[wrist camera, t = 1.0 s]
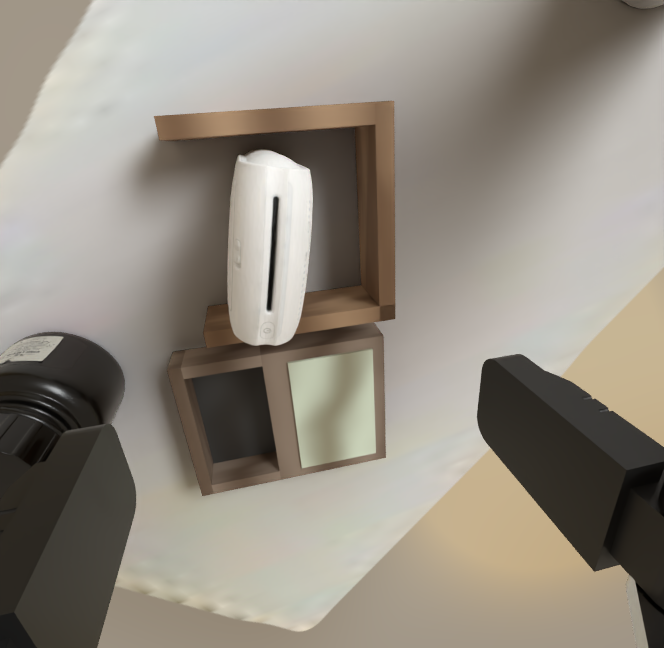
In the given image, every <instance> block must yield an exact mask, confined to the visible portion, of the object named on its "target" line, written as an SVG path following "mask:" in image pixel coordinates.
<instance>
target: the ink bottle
mask: <svg viewBox="0 0 664 648" xmlns="http://www.w3.org/2000/svg"><path fill="white" fill-rule="evenodd" d="M124 390H125V380H124V375H123V372H122V370H121V368H120V366H119V364H118V363H117V361H116V360H115V359H114V358H113V357H112V356H111V355H110V354H109V353H108V352H107V351H106V350H105V349H103V348H102V347H100V346H99V345H97V344H95V343H94V342H92V341H90V340H87V339H85V338H82V337H80V336H76V335H73V334H68V333H62V332H44V333H38V334H34V335H31V336H28V337H26V338H24V339H22V340H20V341H18V342H16V343H15V344H14V345H12V346H11V347H10V348H8V349H7V350H6V351H5V352H4V353H3V354H1V355H0V500H1V498H2V497H3V495H4V494H5V492H6V491H7V489H8V488H9V486H11V485H12V484H13V483H14V482H15V481H16V480H17V479H19V478H20V477H21V476H22V475H23V474H24V473H25V472H26V471H28V470H29V469H30V468H31V467H32V466H33V465H34V464H35V463H40V462H45V461H46V460H47V458H48V457H49V455H50V453H51V452H52V450H53V449H54V447H55V445H56V444H57V442H58V440H59V439H60V437H61V436H62V434H63V433H64V432H66V431H68V430H74V429H80V428H86V427H92V426H97V425H103V424H111V423H112V421H113V419H114V417H115V414H116V412H117V410H118V408H119V406H120V404H121V401H122V399H123V395H124Z"/></svg>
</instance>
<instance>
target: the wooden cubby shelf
mask: <svg viewBox="0 0 664 648" xmlns="http://www.w3.org/2000/svg"><path fill="white" fill-rule="evenodd" d="M154 118H155V123H156V127H157V132H158V136H159V140H164V141H178V140H192V139H205V138H219V137H232V136H246V135H259V134H273V133H286V132H300V131H313V130H326V129H340V128H353V127H355V150H356V174H357V197H358V221H359V245H360V268H361V285H359V286H351V287H344V288H337V289H330V290H322V291H315V292H308V293H305V296H304V302H303V307H302V313H301V318H300V321H299V324H298V327H297V329H296V331H295V334H301V333H307V332H314V331H320V330H327V329H333V328H340V327H346V326H353V325H359V324H365V323H372V322H378V321H385V320H391V319H395V174H394V101H382V102H367V103H351V104H336V105H320V106H305V107H289V108H274V109H258V110H243V111H227V112H212V113H196V114H181V115H165V116H154ZM203 334H204V338H205V343H206V347H207V348H210V347H216V346H223V345H229V344H236V343H242V342H243V341H241V340H240V339H239V338H238V337H236V336H235V334H234V332H233V330H232V326H231V322H230V316H229V307H228V304H221V305H214V306H208V310H207V315H206V320H205V326H204V331H203Z"/></svg>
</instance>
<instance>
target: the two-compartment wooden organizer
mask: <svg viewBox="0 0 664 648" xmlns="http://www.w3.org/2000/svg"><path fill="white" fill-rule="evenodd" d="M167 372H168V376H169V379H170V383H171V386H172V390H173V393H174V397H175V401H176V404H177V408H178V411H179V415H180V418H181V422H182V425H183V429H184V433H185V436H186V440H187V443H188V447H189V450H190V454H191V457H192V461H193V465H194V468H195V472H196V475H197V479H198V482H199V486H200V489H201V493H202V496H205V495H210V494H215V493H219V492H224V491H229V490H234V489H238V488H243V487H248V486H253V485H257V484H262V483H267V482H272V481H277V480H281V479H286V478H291V477H296V476H300V475H305V474H310V473H315V472H319V471H324V470H329V469H334V468H338V467H343V466H348V465H353V464H358V463H362V462H367V461H372V460H377V459H381V458H386V446H385V393H384V340H383V334H382V333H381V332H380V330H379V329H378V328H377V326H376V325H375V324H374V322H372V323H365V324H359V325H353V326H346V327H340V328H333V329H327V330H320V331H314V332H307V333H301V334H294V336H293V337H292V339H290V340H289V341H288V342H286V343H283V344H281V345H277V346H274V345H268V344H264V345H257V346H254V345H250V344H248V343H245V342H242V343H236V344H229V345H223V346H216V347H210V348H207V347H201V348H195V349H188V350H182V351H175V352H173V353H172V356H171V359H170V362H169V365H168V369H167Z"/></svg>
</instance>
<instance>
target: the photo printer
mask: <svg viewBox="0 0 664 648" xmlns="http://www.w3.org/2000/svg"><path fill="white" fill-rule="evenodd" d="M230 202H231V203H230V216H229V237H228V274H227V287H228V298H227V299H228V307H229V316H230V322H231V326H232V330H233V332H234V334H235V336H236V337H238V338H239V339H240V340H241V341H243V342H245V343H248V344H250V345H254V346H257V345H264V344H268V345H274V346H277V345H281V344H283V343H286V342H288V341H289V340H290V339H292V337H293V336H294V334H295V331H296V329H297V327H298V324H299V321H300V318H301V313H302V307H303V302H304V296H305V289H306V282H307V274H308V265H309V255H310V244H311V230H312V209H313V190H312V180H311V174H310V170H309V169H308V168H306V167H304V166H302V165H299V164H297V163H295V162H293V161H292V160H291V159H289V158H287V157H285V156H283V155H280V154H278V153H276V152H273V151H270V150H267V149H255V150H252V151H250V152H248V153H246V154H245V155H242V154H238V157H237V161H236V164H235V170H234V178H233V183H232V190H231V197H230Z"/></svg>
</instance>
